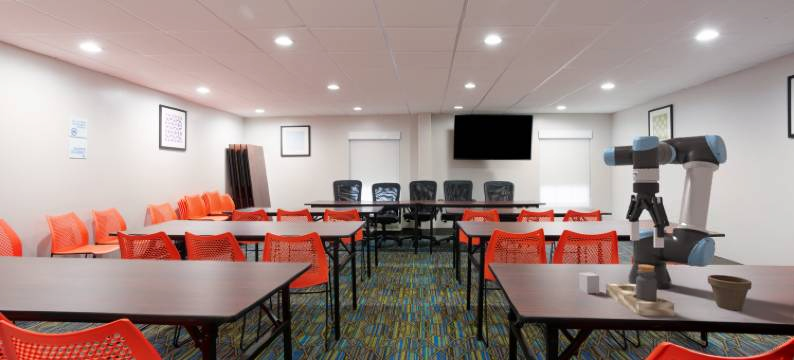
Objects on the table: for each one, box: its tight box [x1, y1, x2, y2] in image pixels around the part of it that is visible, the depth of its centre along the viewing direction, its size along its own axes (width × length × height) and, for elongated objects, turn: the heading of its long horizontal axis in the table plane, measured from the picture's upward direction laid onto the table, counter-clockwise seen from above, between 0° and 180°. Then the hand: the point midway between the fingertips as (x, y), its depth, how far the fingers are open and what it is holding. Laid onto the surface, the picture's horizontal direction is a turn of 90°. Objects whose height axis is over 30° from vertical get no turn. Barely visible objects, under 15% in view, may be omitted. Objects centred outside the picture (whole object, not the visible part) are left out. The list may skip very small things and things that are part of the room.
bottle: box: [636, 264, 658, 302], centre depth 127 cm, size 6×6×15 cm
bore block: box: [605, 283, 675, 317], centre depth 133 cm, size 11×22×4 cm, turn 176°
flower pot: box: [707, 274, 752, 311], centre depth 129 cm, size 12×11×10 cm
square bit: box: [579, 271, 600, 294], centre depth 147 cm, size 5×5×7 cm
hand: (646, 243), depth 127 cm, fingers open, 13 cm apart
